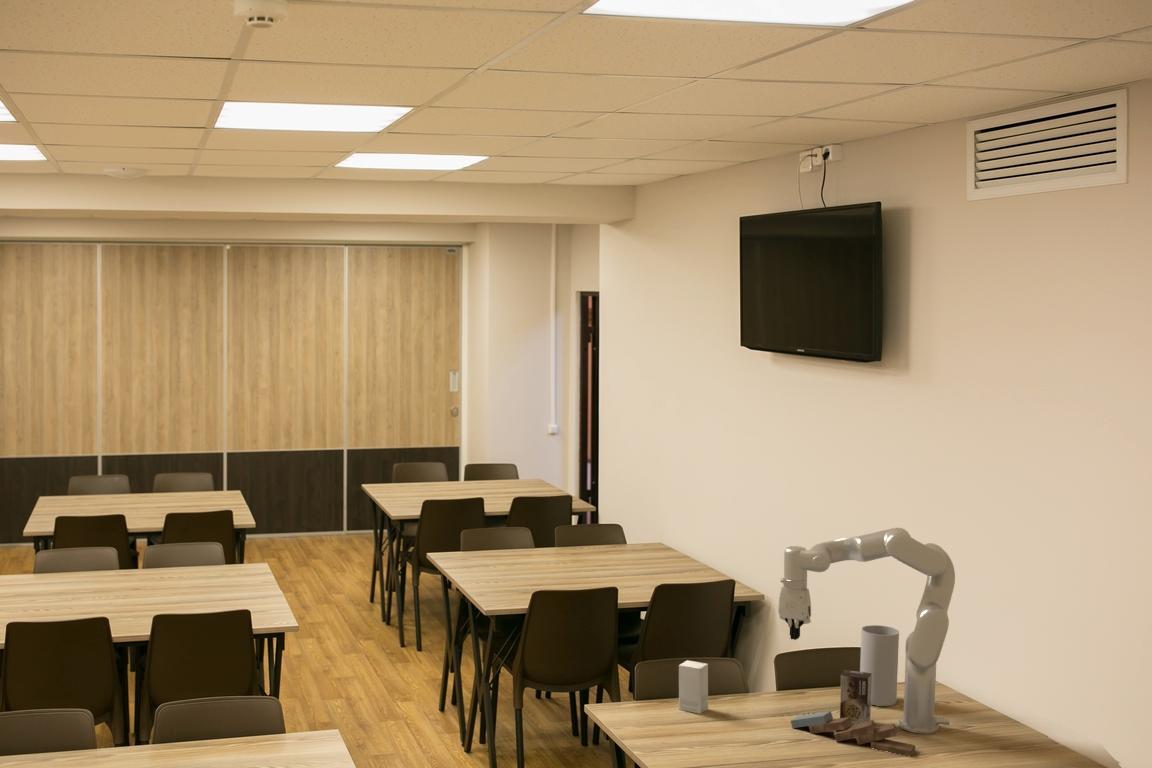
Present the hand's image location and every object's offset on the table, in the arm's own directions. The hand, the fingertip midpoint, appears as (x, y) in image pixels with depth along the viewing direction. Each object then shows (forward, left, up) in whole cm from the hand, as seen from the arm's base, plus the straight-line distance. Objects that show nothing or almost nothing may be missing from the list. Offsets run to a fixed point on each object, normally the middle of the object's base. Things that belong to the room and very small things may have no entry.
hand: (794, 638), depth 370 cm
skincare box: (+33, +2, -26) cm, 42 cm away
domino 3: (-19, +22, -24) cm, 38 cm away
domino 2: (-13, +20, -24) cm, 34 cm away
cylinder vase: (-30, -19, -26) cm, 44 cm away
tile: (0, +11, -24) cm, 27 cm away
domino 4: (-24, +23, -25) cm, 42 cm away
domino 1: (-6, +14, -25) cm, 29 cm away
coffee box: (-20, +3, -26) cm, 33 cm away
